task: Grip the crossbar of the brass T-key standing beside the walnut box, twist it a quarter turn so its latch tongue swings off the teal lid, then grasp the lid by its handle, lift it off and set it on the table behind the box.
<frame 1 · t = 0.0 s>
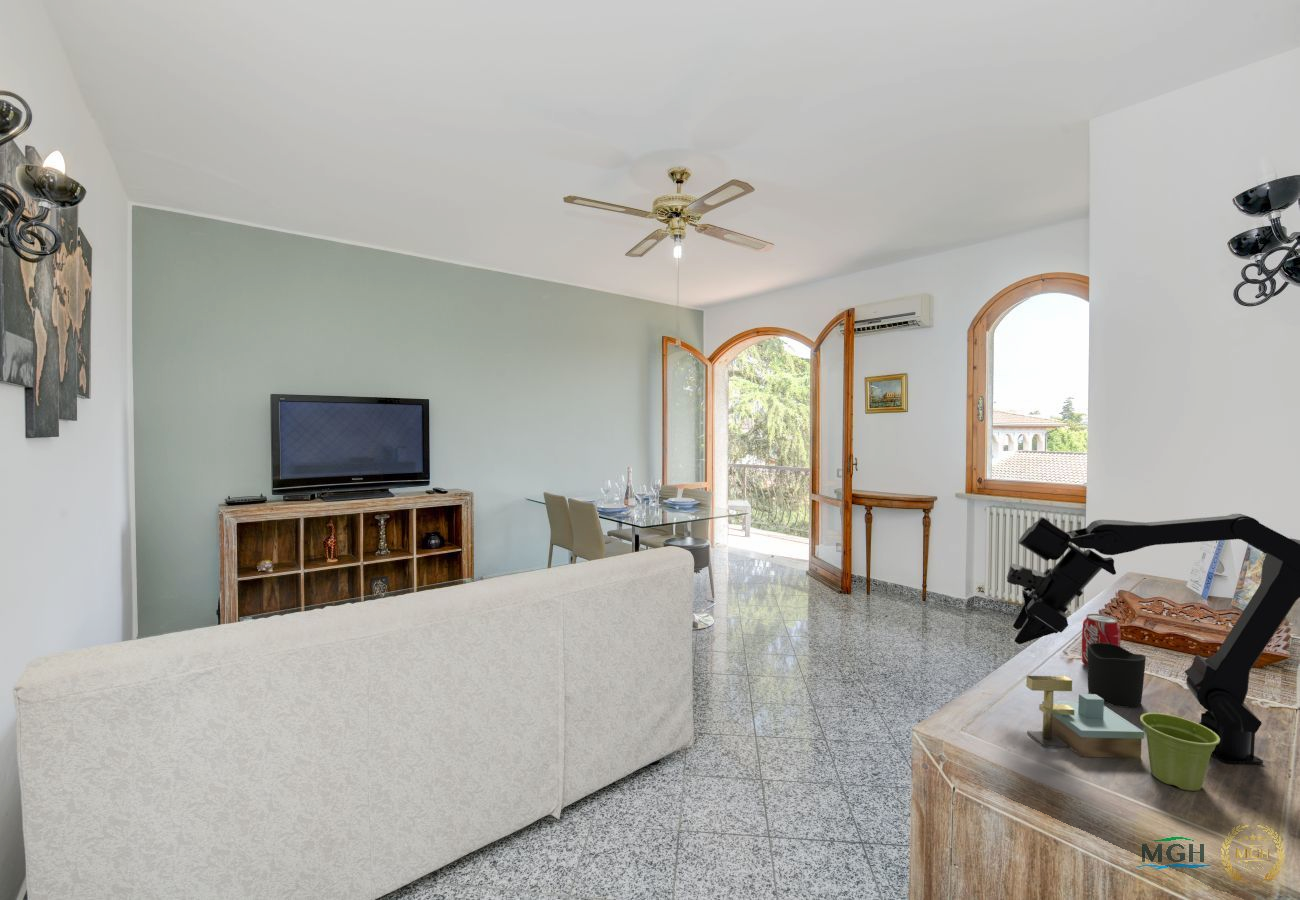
hand: (1015, 635, 115), 15 cm above the sideboard, tool tilted 35°, fingers open, 9 cm apart
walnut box: (1089, 741, 103), on the sideboard
key: (1049, 707, 103), point 6 cm above the sideboard, hinge at 0.0°
soda can: (1099, 668, 134), on the sideboard
pen holder: (1113, 699, 120), on the sideboard
lid: (1090, 722, 103), point 3 cm above the sideboard, touching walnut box
plant pot: (1176, 780, 92), on the sideboard
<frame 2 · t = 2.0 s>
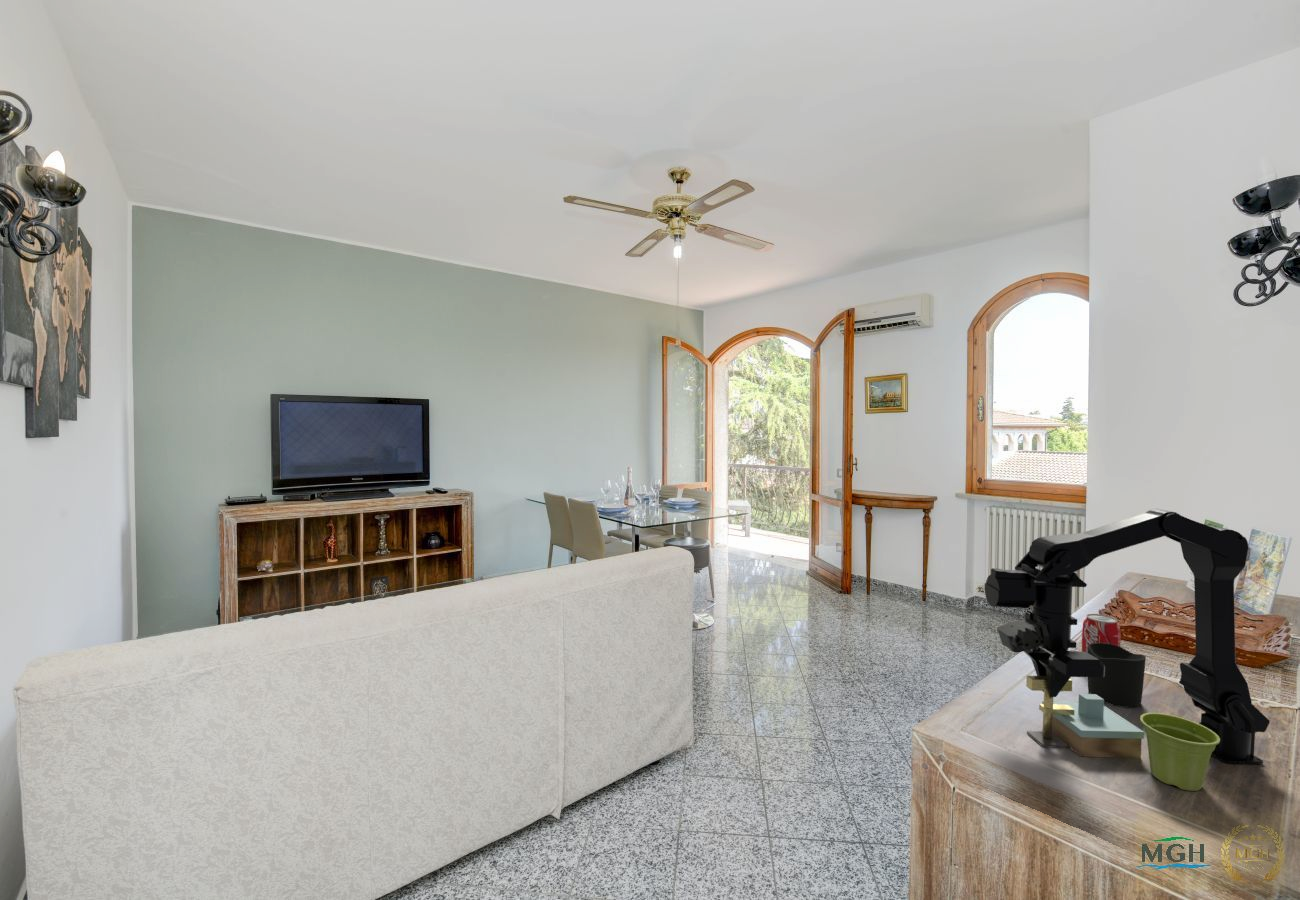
hand: (1048, 694, 103), 9 cm above the sideboard, tool pointing down, fingers closed on key, 2 cm apart
key: (1049, 707, 103), point 6 cm above the sideboard, hinge at 0.0°, touching gripper
everything else where it was.
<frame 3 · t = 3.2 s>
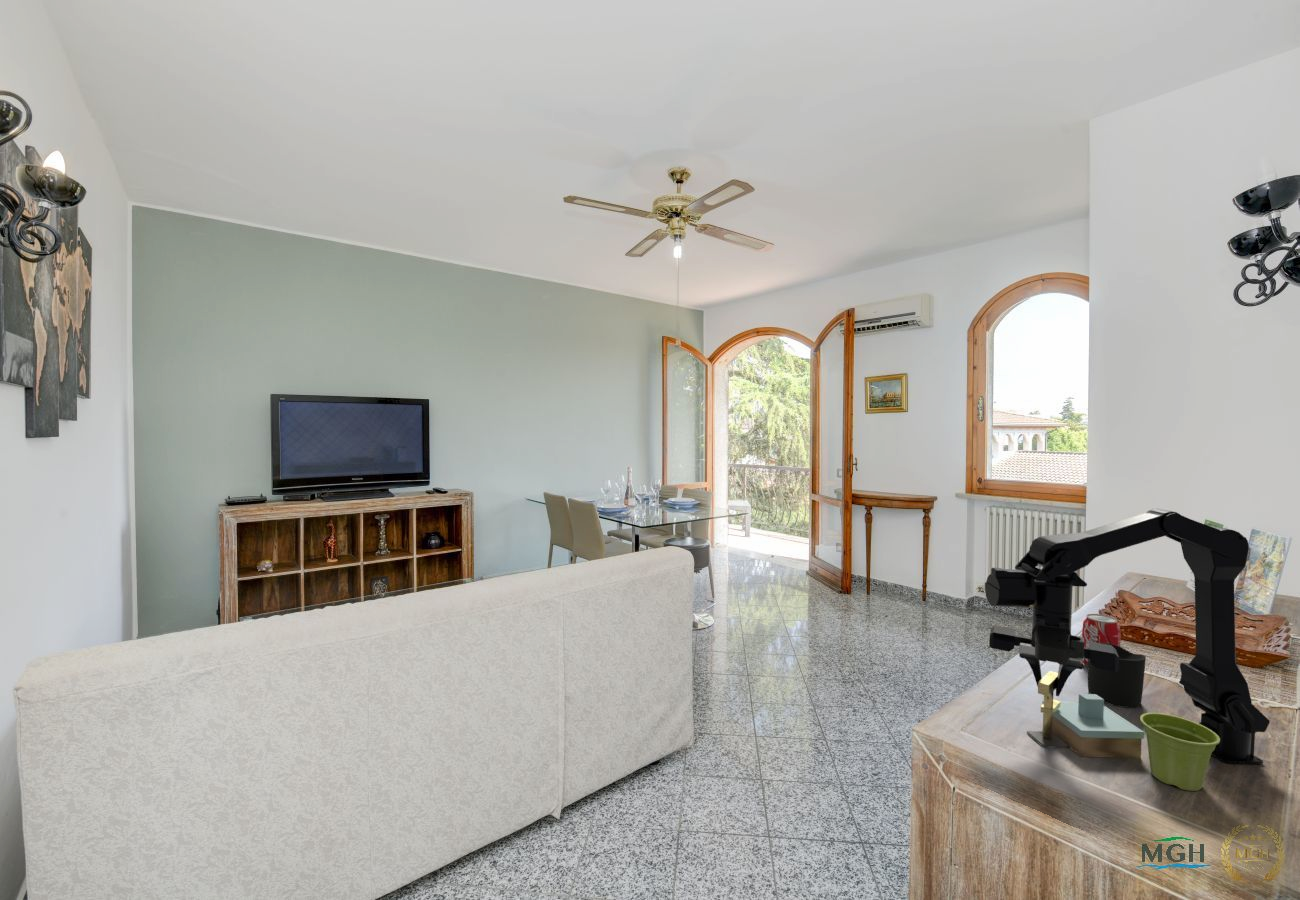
hand: (1048, 693, 103), 9 cm above the sideboard, tool pointing down, fingers closed on key, 2 cm apart
key: (1048, 707, 104), point 6 cm above the sideboard, hinge at 43.6°, touching gripper
everything else where it was.
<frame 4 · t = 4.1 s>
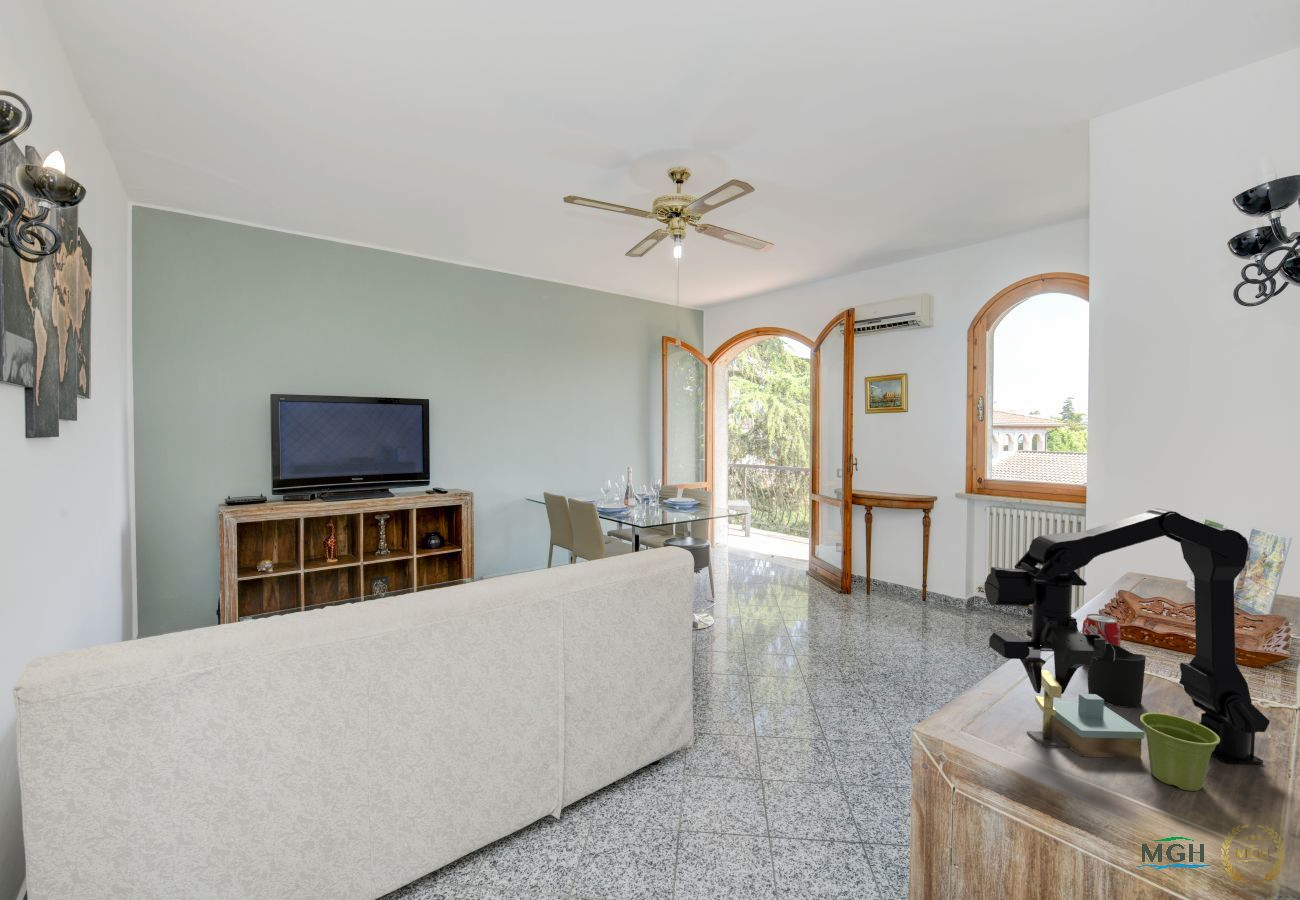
hand: (1048, 692, 103), 9 cm above the sideboard, tool pointing down, fingers open, 4 cm apart
key: (1047, 707, 104), point 6 cm above the sideboard, hinge at 74.0°
everything else where it was.
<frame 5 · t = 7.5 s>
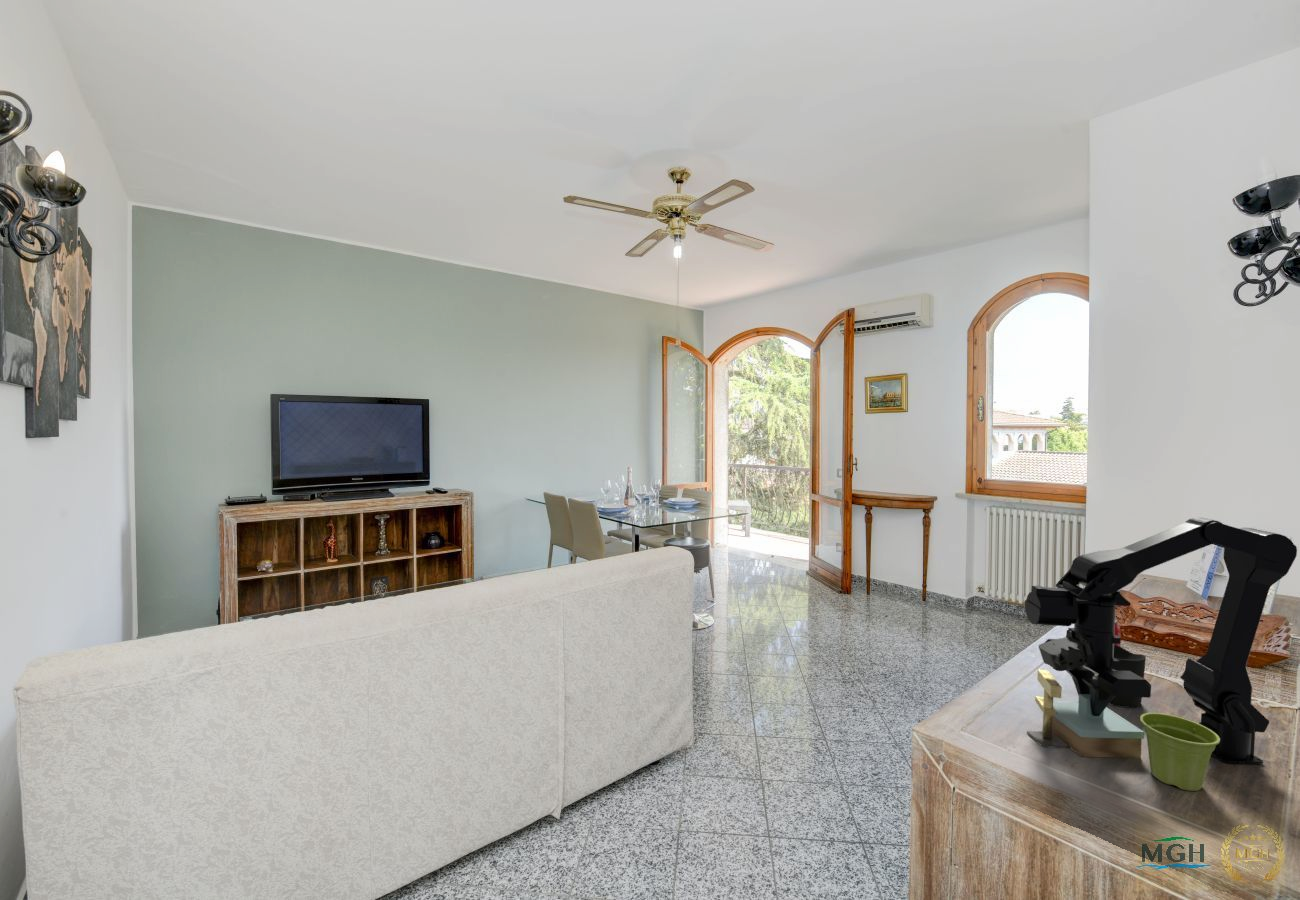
hand: (1090, 712, 103), 5 cm above the sideboard, tool pointing down, fingers closed on lid
lid: (1090, 722, 103), point 3 cm above the sideboard, touching gripper, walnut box
everything else where it was.
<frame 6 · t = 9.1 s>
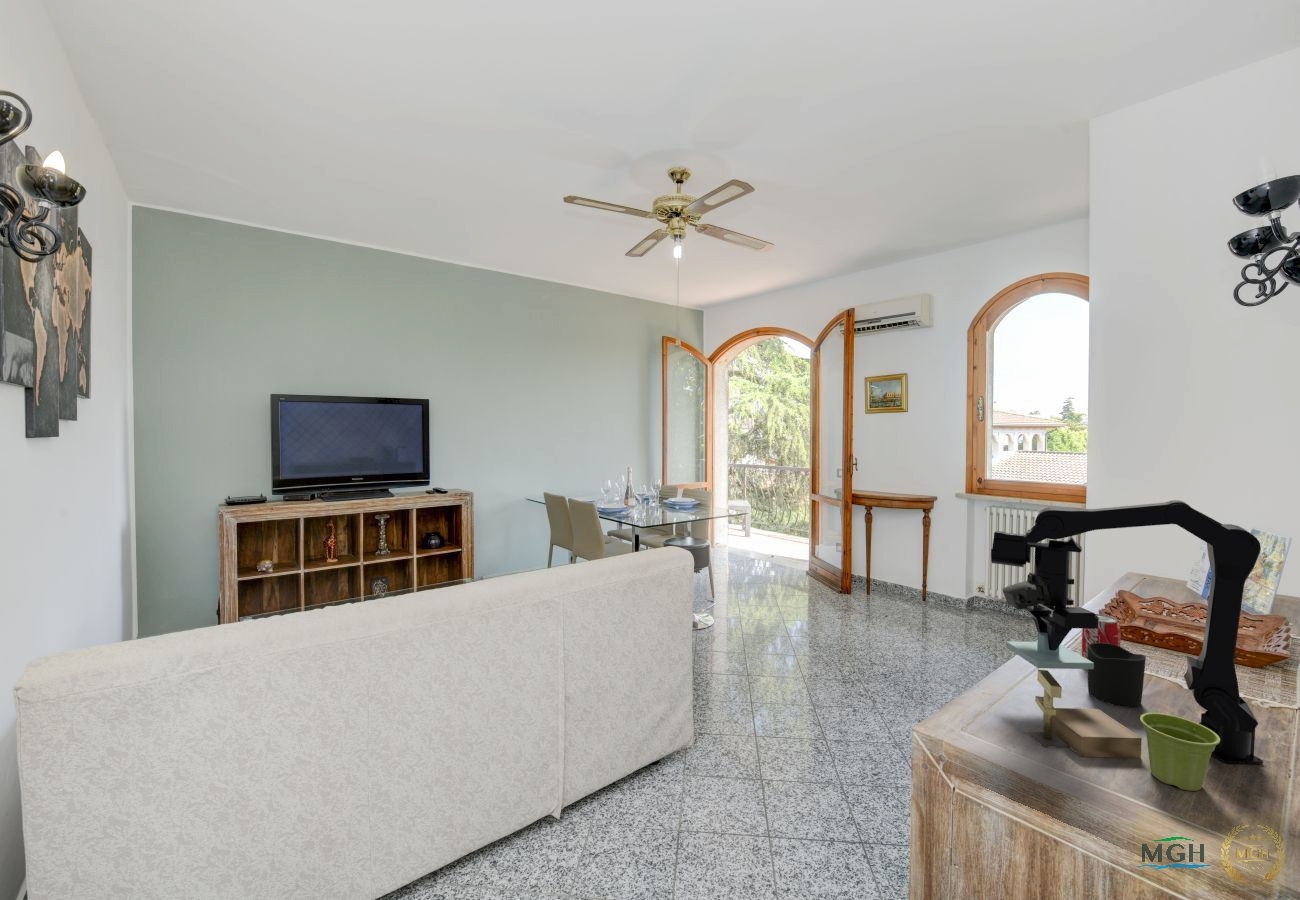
hand: (1048, 647, 115), 12 cm above the sideboard, tool pointing down, fingers closed on lid
lid: (1047, 657, 115), point 10 cm above the sideboard, touching gripper
everything else where it was.
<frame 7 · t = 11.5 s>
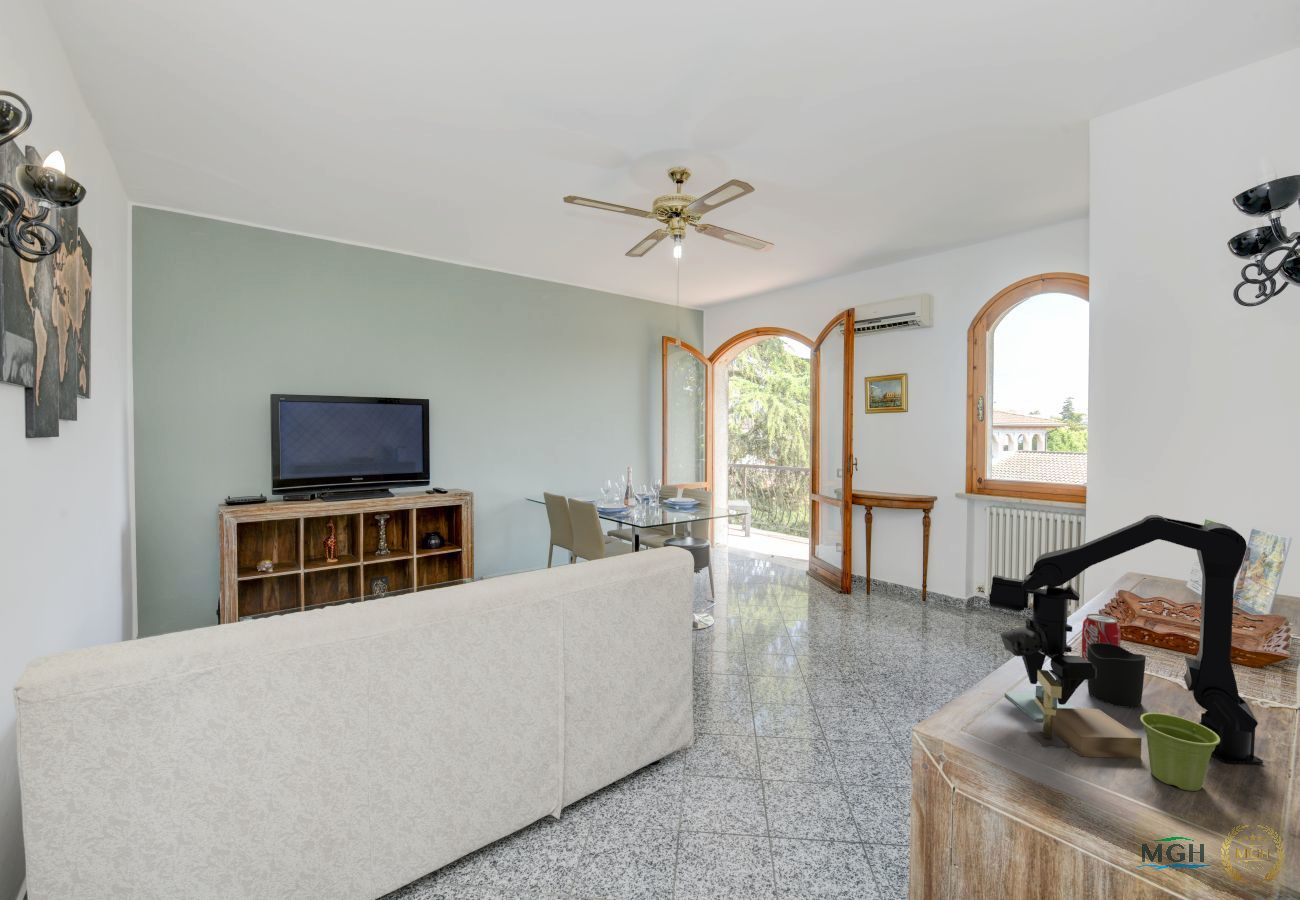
hand: (1047, 693, 115), 3 cm above the sideboard, tool pointing down, fingers open, 8 cm apart
lid: (1045, 711, 115), on the sideboard
everything else where it was.
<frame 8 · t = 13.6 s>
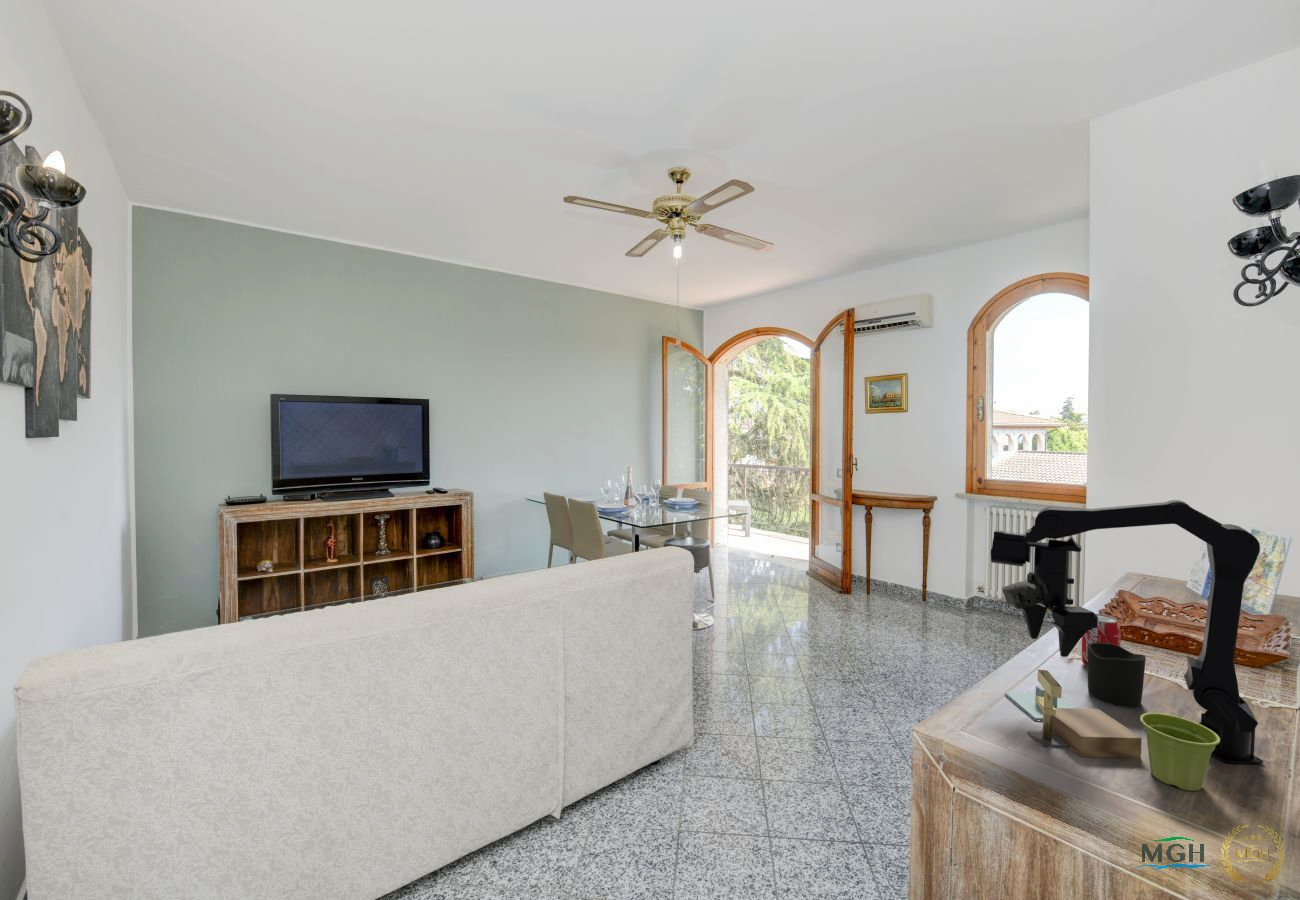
hand: (1048, 647, 115), 12 cm above the sideboard, tool pointing down, fingers open, 9 cm apart
nothing on the sideboard moved.
at the end: key at +74° (first picture: +0°); lid inside the target area (0.1 cm from its centre), on the sideboard; lid tilted 0° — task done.
